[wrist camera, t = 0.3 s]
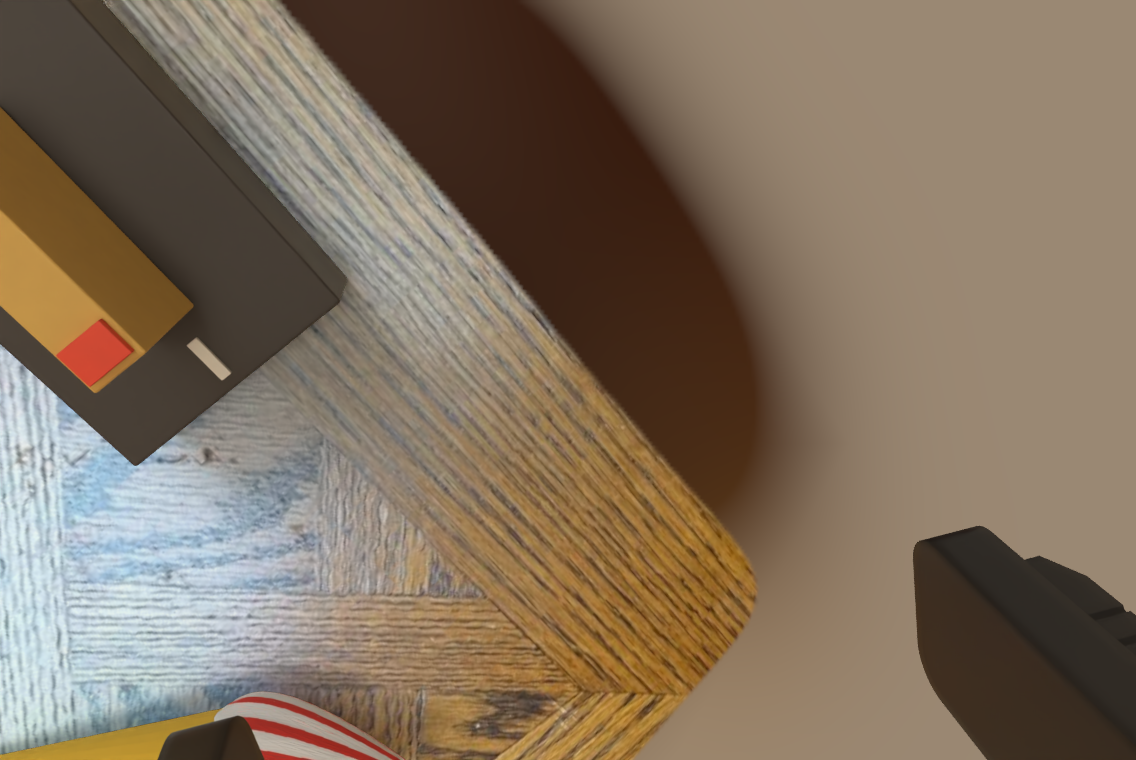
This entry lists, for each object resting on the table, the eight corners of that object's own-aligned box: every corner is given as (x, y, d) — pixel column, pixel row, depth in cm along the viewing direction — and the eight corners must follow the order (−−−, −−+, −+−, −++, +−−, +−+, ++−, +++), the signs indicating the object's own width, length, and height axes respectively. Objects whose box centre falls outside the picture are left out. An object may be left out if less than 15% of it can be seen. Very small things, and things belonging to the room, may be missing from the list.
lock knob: (-52, 139, 23) (-177, 150, 18) (-5, 100, 23) (-119, 100, 18) (152, 339, 25) (91, 398, 20) (195, 305, 25) (143, 355, 20)
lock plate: (-146, 133, 26) (-232, 138, 22) (62, -45, 25) (7, -67, 22) (165, 427, 30) (133, 470, 26) (348, 278, 29) (340, 302, 26)
